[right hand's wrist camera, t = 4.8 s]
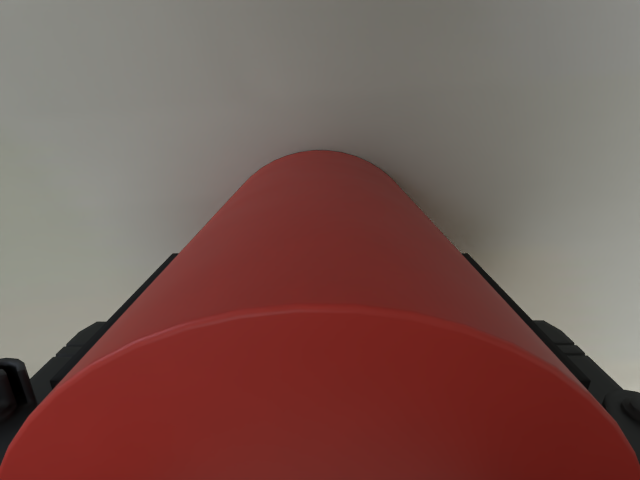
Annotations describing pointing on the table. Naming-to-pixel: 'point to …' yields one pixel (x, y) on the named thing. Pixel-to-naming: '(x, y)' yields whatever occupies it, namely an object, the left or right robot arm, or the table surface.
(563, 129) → the table surface
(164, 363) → the can
